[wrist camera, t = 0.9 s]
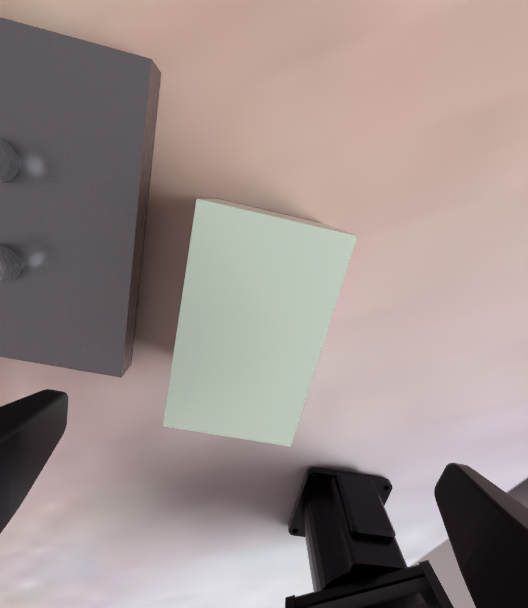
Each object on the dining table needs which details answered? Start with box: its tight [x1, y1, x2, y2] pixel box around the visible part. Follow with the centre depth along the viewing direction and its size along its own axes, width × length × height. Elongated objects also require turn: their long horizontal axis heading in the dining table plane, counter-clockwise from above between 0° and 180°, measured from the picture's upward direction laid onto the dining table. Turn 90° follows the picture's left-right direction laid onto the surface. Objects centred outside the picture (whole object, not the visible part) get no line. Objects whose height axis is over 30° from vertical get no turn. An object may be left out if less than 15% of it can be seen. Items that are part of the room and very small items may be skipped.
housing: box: [163, 198, 357, 447], centre depth 16 cm, size 10×6×6 cm, turn 167°
